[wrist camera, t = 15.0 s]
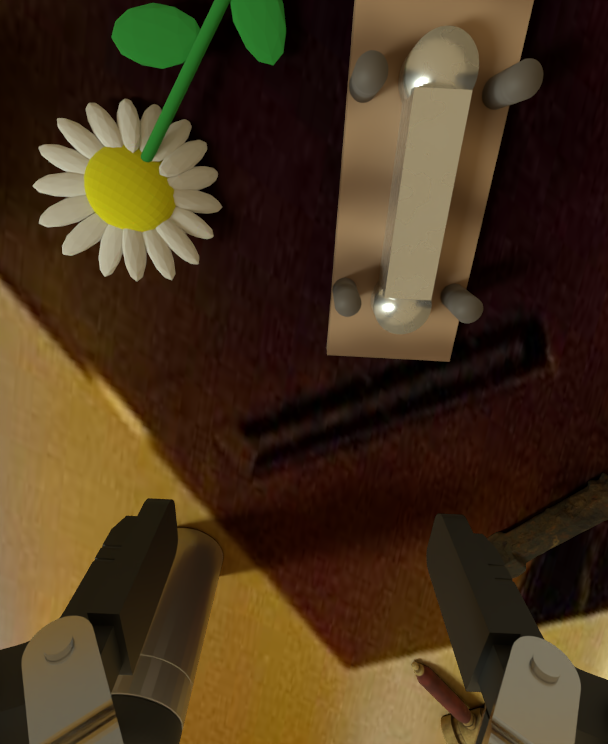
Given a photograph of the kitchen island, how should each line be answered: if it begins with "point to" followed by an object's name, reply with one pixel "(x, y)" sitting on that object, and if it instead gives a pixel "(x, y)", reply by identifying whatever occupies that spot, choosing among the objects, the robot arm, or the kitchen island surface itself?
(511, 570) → the grey brown long rod
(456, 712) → the gavel
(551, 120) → the kitchen island surface
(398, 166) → the ball-ended square rod
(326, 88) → the kitchen island surface
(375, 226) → the rest
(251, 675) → the kitchen island surface
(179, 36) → the decorative flower
